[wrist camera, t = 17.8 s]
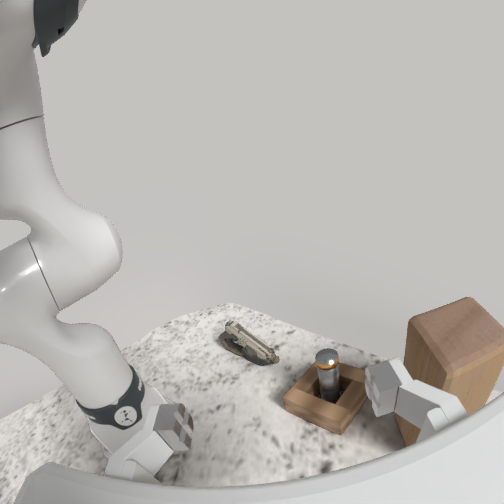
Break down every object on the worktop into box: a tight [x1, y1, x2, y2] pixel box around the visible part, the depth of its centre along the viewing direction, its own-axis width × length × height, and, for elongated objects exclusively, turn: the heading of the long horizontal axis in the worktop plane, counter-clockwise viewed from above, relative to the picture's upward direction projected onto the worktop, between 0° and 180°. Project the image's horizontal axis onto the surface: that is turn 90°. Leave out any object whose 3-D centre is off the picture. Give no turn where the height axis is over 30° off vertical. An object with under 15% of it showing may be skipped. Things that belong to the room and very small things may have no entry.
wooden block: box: [395, 297, 504, 447], centre depth 25 cm, size 10×10×20 cm
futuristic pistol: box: [218, 321, 280, 366], centre depth 56 cm, size 2×15×10 cm, turn 49°
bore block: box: [282, 361, 368, 435], centre depth 40 cm, size 11×11×4 cm
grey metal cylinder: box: [316, 349, 341, 404], centre depth 39 cm, size 3×3×11 cm
